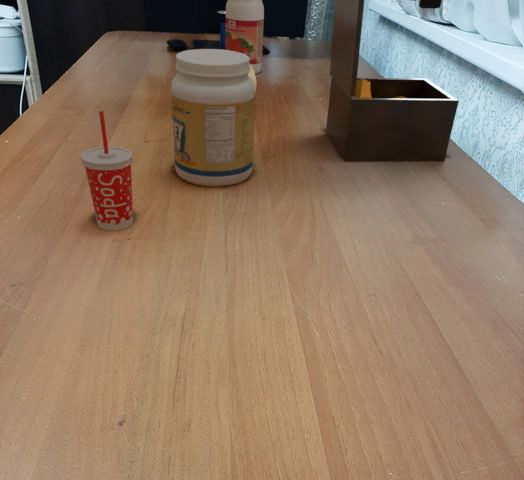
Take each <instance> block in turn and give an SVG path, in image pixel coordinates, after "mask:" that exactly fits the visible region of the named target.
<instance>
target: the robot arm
mask: <svg viewBox="0 0 524 480" xmlns="http://www.w3.org/2000/svg"><path fill="white" fill-rule="evenodd" d="M412 1H413V2H414V1H415V2H416V1H417V0H411V2H412ZM441 5H442V0H419V4H418V6H419V8H421V9H440V8H441Z"/></svg>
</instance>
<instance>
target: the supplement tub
mask: <svg viewBox="0 0 524 480" xmlns="http://www.w3.org/2000/svg"><path fill="white" fill-rule="evenodd" d="M174 67H175V69H174V70H176V71H177V73H176V75H174V77H173V78H172V80H171V83H170V96H171V97H170V98H171V99H170V100H171V116H172V134H173V135H172V136H173V137H172V138H173V155H174V169H175V172H176V174H177V176H178V177H180V178H181V179H183V180H184V181H185V182H188V183H190V184H193V185H196V186H202V187H225V186H232V185H236V184H240V183H242V182H244V181H245V180H247V179H248V178H249V177H250V176H251V174H252V171H253V168H254V135H255V108H256V107H255V104H256V92H255V85H254V83H253V81H252V79H251V78H250V77H249V76H248V73H249V72H250V67H249V57H248V56H247V55H245V54H243V53H239V52H235V51H230V50H226V49H221V48H220V49H219V48H196V49H186V50H183V51H179V52H178V53H176V55H175V66H174Z"/></svg>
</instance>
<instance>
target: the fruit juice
mask: <svg viewBox="0 0 524 480" xmlns="http://www.w3.org/2000/svg"><path fill="white" fill-rule="evenodd" d="M264 19H265V7H264V3H263V0H227V1H226V4H225V50H230V51H235V52H239V53H243V54H245V55H247V56H248V57H249V63H250V64H251V66H252V68H253V70H254V72H255V75H256V74H259V73H261V72H262V69H263V49H264V46H263V45H264V25H265V24H264V23H265V21H264Z"/></svg>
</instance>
